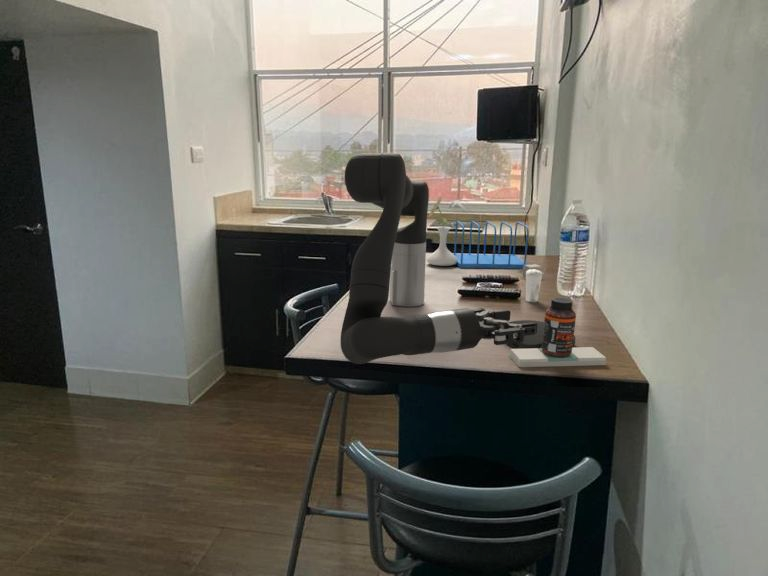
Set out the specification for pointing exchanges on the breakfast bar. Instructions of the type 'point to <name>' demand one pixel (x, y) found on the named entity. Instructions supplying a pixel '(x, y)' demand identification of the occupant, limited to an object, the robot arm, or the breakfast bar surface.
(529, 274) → the milkshake
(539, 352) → the key strip
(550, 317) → the supplement bottle
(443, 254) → the flower in vase
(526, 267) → the usb wall charger
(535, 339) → the media streaming box
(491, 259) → the file sorter
